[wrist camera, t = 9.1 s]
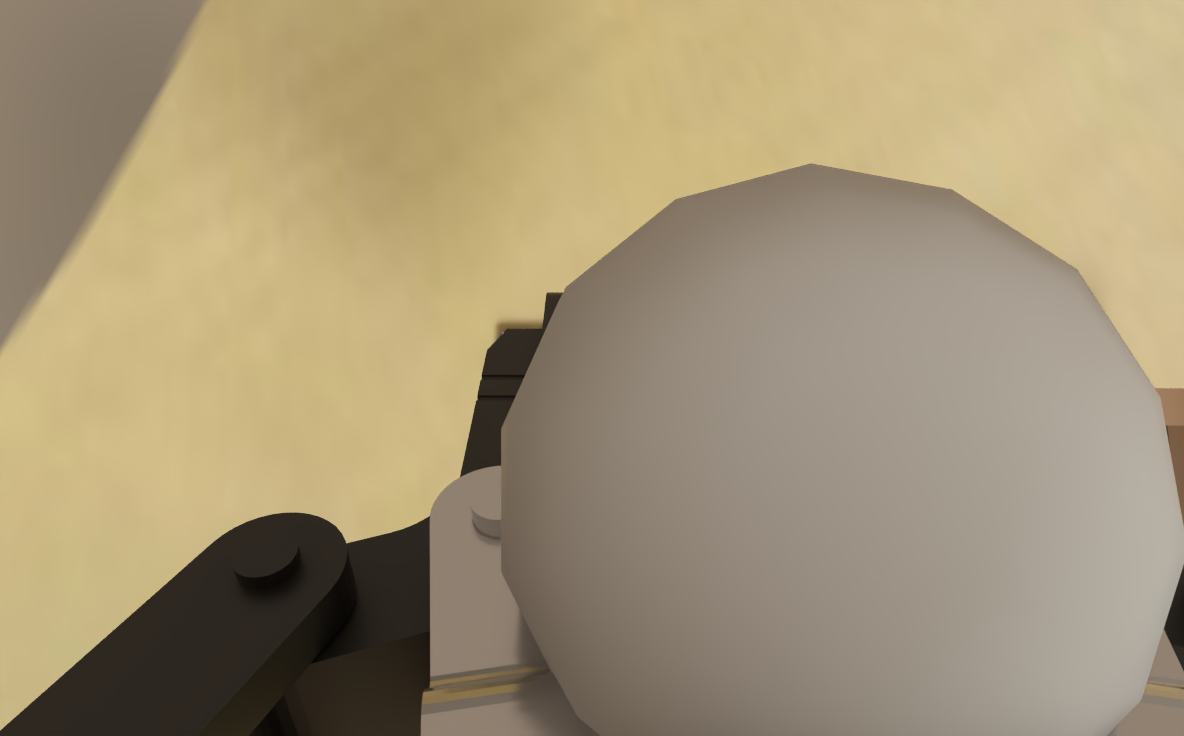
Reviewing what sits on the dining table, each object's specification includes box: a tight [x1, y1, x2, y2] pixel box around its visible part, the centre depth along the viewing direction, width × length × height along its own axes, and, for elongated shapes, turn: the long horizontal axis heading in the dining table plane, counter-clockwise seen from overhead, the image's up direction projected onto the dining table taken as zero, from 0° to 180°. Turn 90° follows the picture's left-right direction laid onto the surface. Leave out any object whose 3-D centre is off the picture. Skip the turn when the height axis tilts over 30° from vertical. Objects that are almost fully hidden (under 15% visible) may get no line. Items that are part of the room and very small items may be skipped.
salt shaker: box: [501, 164, 1184, 736], centre depth 11 cm, size 6×6×13 cm
